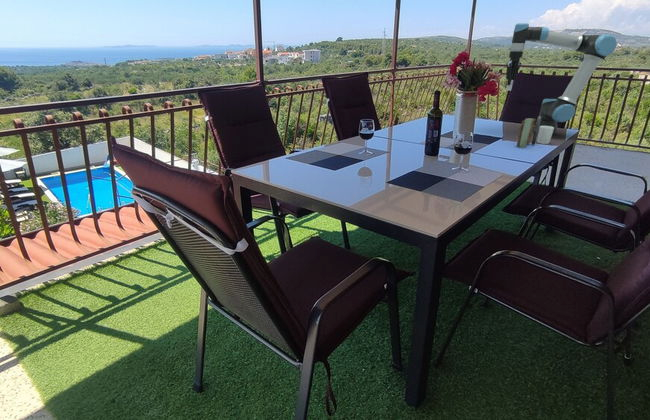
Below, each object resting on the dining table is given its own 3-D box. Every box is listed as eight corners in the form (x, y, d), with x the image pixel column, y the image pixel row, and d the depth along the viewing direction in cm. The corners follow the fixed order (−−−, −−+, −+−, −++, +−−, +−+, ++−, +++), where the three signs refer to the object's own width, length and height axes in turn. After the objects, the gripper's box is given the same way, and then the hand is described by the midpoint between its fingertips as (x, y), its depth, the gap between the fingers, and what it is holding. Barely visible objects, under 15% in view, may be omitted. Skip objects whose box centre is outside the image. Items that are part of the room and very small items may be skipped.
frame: (532, 143, 231) (539, 116, 224) (535, 144, 230) (542, 116, 223) (518, 147, 223) (525, 118, 216) (522, 148, 222) (528, 119, 215)
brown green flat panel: (528, 143, 231) (533, 118, 225) (529, 143, 230) (535, 119, 224) (516, 145, 225) (522, 120, 219) (518, 145, 224) (524, 121, 218)
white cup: (548, 145, 229) (553, 128, 225) (534, 143, 233) (538, 127, 229) (550, 142, 235) (555, 126, 231) (537, 140, 239) (541, 125, 235)
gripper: (516, 50, 236) (508, 89, 246) (505, 50, 229) (497, 90, 239) (528, 51, 230) (519, 90, 240) (516, 51, 224) (508, 91, 233)
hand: (508, 90), depth 240 cm, fingers closed
